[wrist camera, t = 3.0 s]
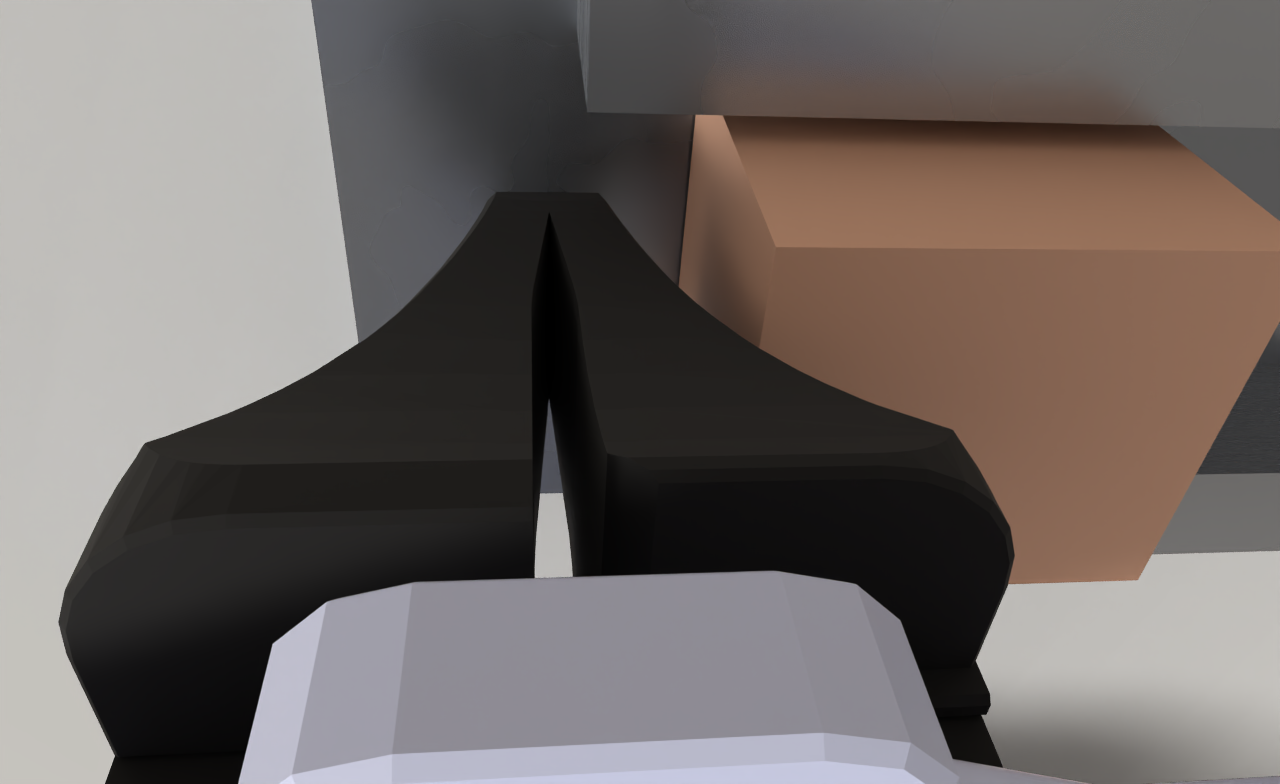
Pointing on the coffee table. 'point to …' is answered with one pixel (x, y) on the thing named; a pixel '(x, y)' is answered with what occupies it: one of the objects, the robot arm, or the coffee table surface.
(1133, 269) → the block
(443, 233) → the chute
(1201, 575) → the coffee table surface
